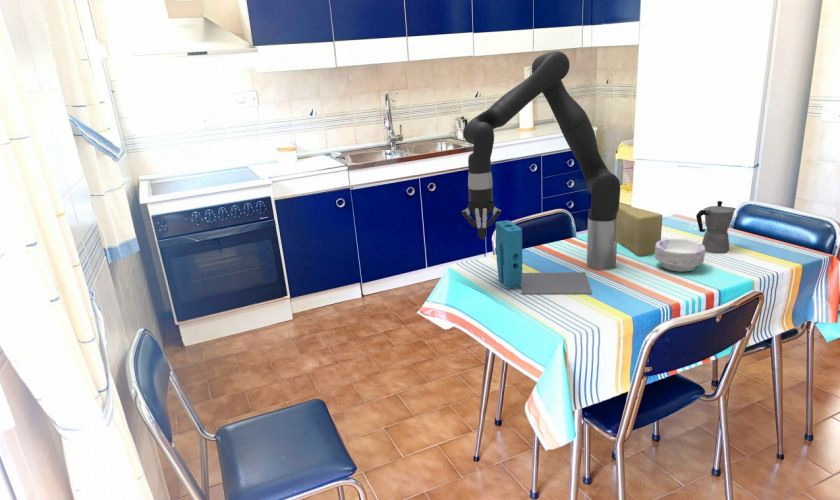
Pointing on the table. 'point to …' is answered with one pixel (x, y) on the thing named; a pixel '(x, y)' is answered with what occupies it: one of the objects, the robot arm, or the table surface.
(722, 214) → the coffeepot
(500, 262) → the block
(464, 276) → the table surface
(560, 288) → the mat
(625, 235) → the tan rectangular box
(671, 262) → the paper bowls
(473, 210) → the robot arm
